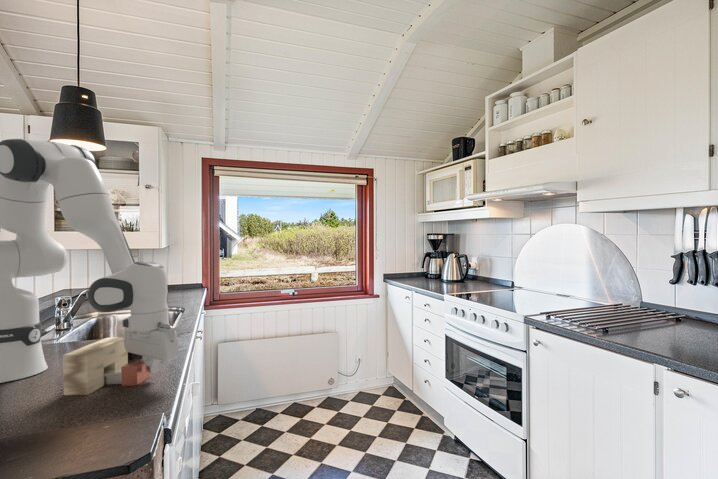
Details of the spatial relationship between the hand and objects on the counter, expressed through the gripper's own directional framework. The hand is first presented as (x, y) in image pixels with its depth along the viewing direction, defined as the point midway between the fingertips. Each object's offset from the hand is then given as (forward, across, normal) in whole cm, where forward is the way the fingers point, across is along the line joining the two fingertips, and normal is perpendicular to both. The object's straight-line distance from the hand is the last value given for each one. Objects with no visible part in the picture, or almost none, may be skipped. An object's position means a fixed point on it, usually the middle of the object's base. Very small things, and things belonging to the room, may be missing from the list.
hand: (151, 372), depth 98 cm
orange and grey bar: (+2, +8, +5) cm, 9 cm away
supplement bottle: (+2, +18, -5) cm, 19 cm away
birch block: (+2, +12, +8) cm, 14 cm away
